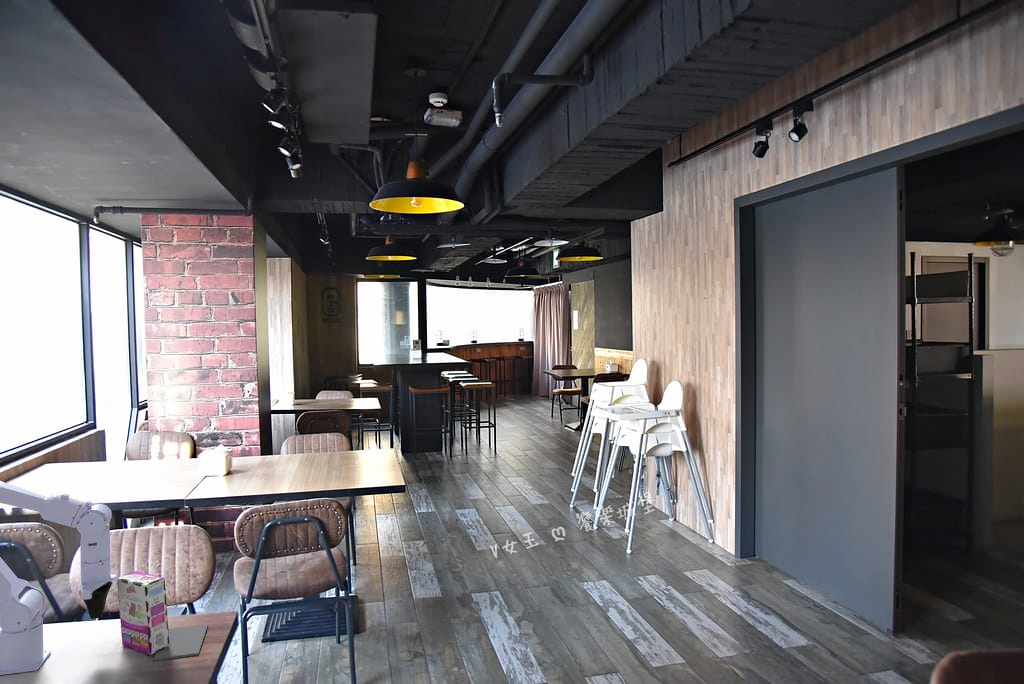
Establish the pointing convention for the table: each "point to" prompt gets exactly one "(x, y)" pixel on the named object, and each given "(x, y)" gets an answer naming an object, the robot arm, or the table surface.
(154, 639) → the candy bar box
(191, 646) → the mat
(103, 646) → the table surface
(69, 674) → the table surface
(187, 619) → the table surface
